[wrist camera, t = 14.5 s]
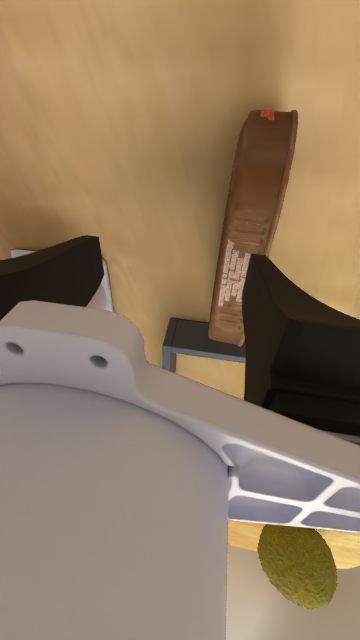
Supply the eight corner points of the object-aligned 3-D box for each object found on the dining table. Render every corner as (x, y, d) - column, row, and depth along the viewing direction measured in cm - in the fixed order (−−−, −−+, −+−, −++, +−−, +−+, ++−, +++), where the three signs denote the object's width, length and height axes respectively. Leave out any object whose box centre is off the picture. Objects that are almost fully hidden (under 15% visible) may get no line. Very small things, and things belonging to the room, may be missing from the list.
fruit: (244, 521, 68) (243, 589, 54) (282, 487, 64) (291, 550, 50) (299, 565, 67) (313, 647, 52) (341, 532, 62) (368, 611, 48)
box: (168, 415, 42) (162, 442, 38) (170, 317, 29) (162, 345, 26) (258, 430, 40) (260, 459, 37) (302, 335, 28) (310, 367, 24)
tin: (243, 303, 26) (244, 372, 20) (210, 299, 27) (202, 365, 20) (291, 106, 17) (324, 116, 10) (239, 103, 17) (240, 111, 10)
